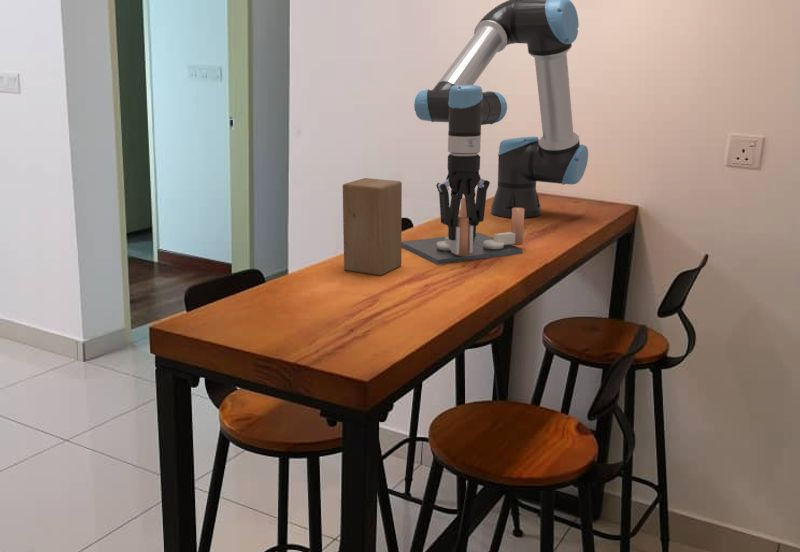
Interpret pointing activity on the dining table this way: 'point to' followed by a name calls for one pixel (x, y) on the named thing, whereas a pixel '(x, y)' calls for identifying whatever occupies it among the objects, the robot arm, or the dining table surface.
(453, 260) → the base plate
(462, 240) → the knob
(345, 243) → the wooden block
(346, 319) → the dining table surface
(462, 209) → the knob
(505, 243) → the knob
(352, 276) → the dining table surface
